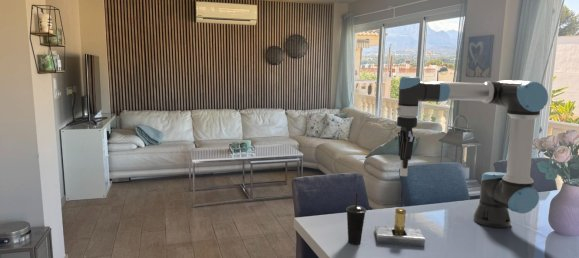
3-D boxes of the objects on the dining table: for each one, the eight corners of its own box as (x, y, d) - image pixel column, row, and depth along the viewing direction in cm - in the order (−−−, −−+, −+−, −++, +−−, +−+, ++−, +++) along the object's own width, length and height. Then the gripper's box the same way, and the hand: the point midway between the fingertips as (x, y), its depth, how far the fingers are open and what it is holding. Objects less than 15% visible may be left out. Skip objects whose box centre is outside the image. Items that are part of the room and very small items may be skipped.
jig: (418, 234, 173) (419, 226, 173) (424, 246, 161) (425, 238, 161) (374, 231, 175) (375, 223, 175) (377, 243, 164) (377, 235, 163)
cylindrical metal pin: (403, 236, 170) (405, 208, 168) (404, 240, 166) (406, 212, 164) (392, 236, 171) (394, 208, 169) (393, 240, 167) (396, 211, 165)
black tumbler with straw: (366, 240, 165) (369, 192, 162) (361, 248, 159) (364, 197, 156) (347, 236, 169) (350, 189, 166) (342, 244, 162) (344, 194, 159)
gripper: (392, 114, 167) (389, 171, 171) (403, 118, 154) (399, 180, 158) (411, 114, 168) (407, 171, 171) (423, 118, 155) (418, 180, 158)
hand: (403, 175), depth 164 cm, fingers closed
